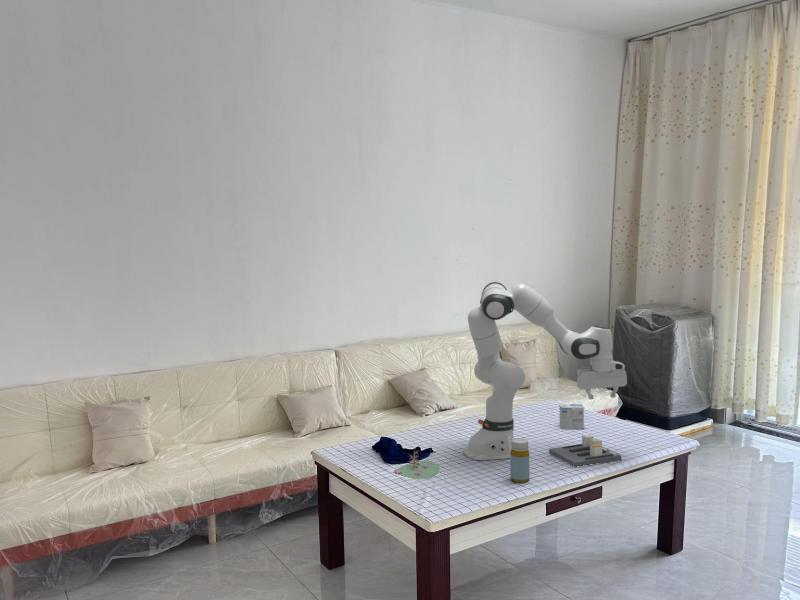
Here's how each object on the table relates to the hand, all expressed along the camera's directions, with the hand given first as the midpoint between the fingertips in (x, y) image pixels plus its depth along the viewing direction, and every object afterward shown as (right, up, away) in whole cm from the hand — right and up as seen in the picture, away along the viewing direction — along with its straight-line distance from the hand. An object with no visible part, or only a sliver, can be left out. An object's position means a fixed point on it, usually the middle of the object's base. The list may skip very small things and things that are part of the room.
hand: (602, 398), depth 258 cm
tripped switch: (-4, -22, -4) cm, 23 cm away
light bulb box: (-1, -21, +42) cm, 47 cm away
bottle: (-38, -27, -22) cm, 52 cm away
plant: (-80, -28, -12) cm, 85 cm away
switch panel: (-7, -24, +1) cm, 25 cm away
